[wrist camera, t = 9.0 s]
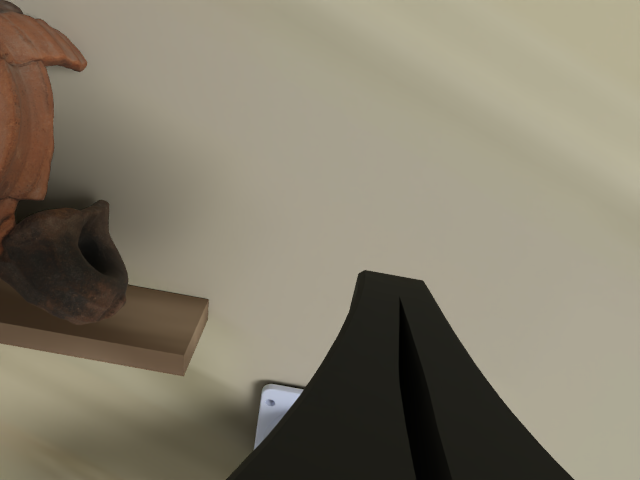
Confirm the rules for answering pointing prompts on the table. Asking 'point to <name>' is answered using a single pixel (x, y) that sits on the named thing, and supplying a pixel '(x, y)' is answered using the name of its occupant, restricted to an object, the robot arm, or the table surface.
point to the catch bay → (113, 330)
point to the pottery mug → (32, 182)
